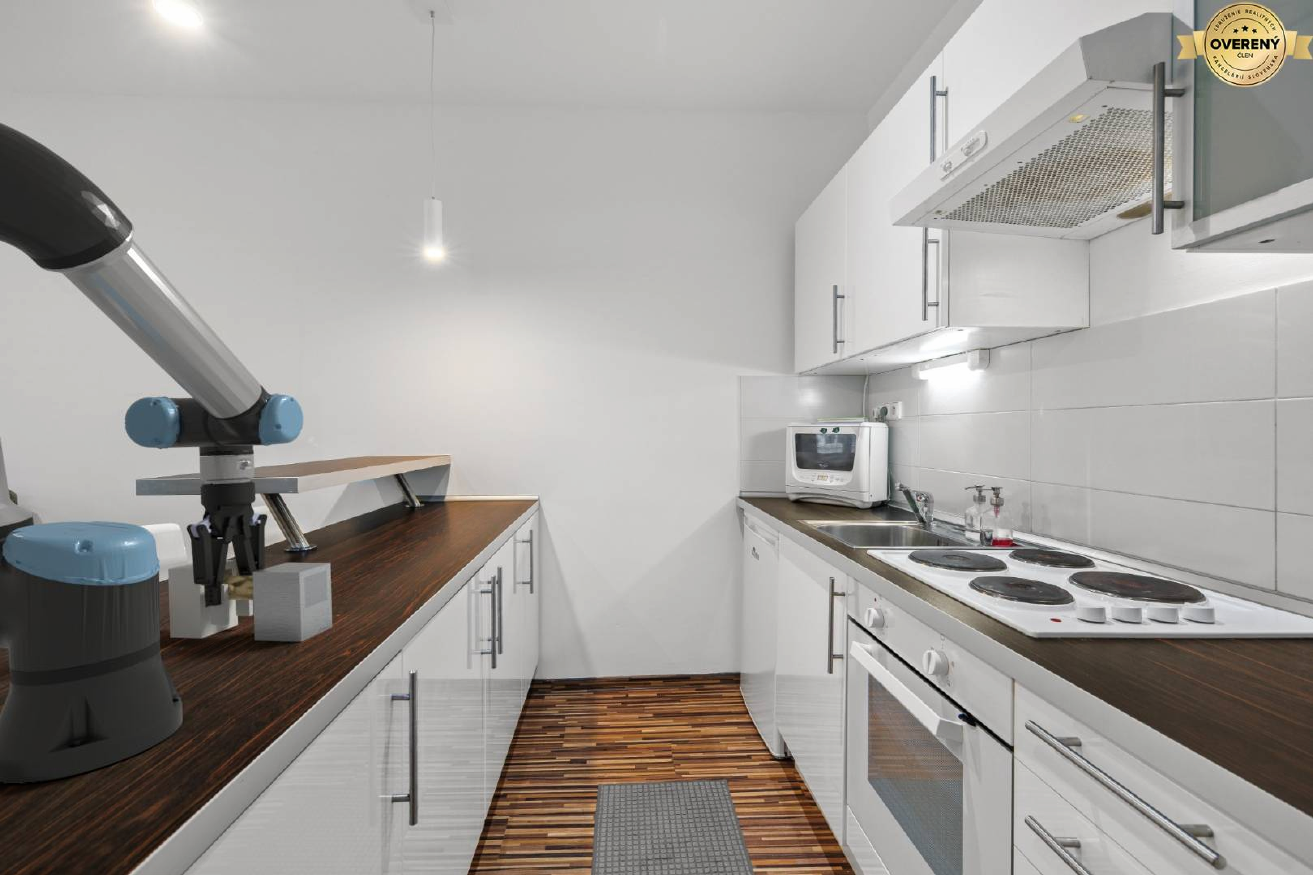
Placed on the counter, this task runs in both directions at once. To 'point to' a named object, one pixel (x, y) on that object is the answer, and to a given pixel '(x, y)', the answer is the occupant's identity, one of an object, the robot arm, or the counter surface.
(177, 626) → the socket
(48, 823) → the counter surface
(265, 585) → the grey block
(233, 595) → the mottled khaki block
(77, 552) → the robot arm
